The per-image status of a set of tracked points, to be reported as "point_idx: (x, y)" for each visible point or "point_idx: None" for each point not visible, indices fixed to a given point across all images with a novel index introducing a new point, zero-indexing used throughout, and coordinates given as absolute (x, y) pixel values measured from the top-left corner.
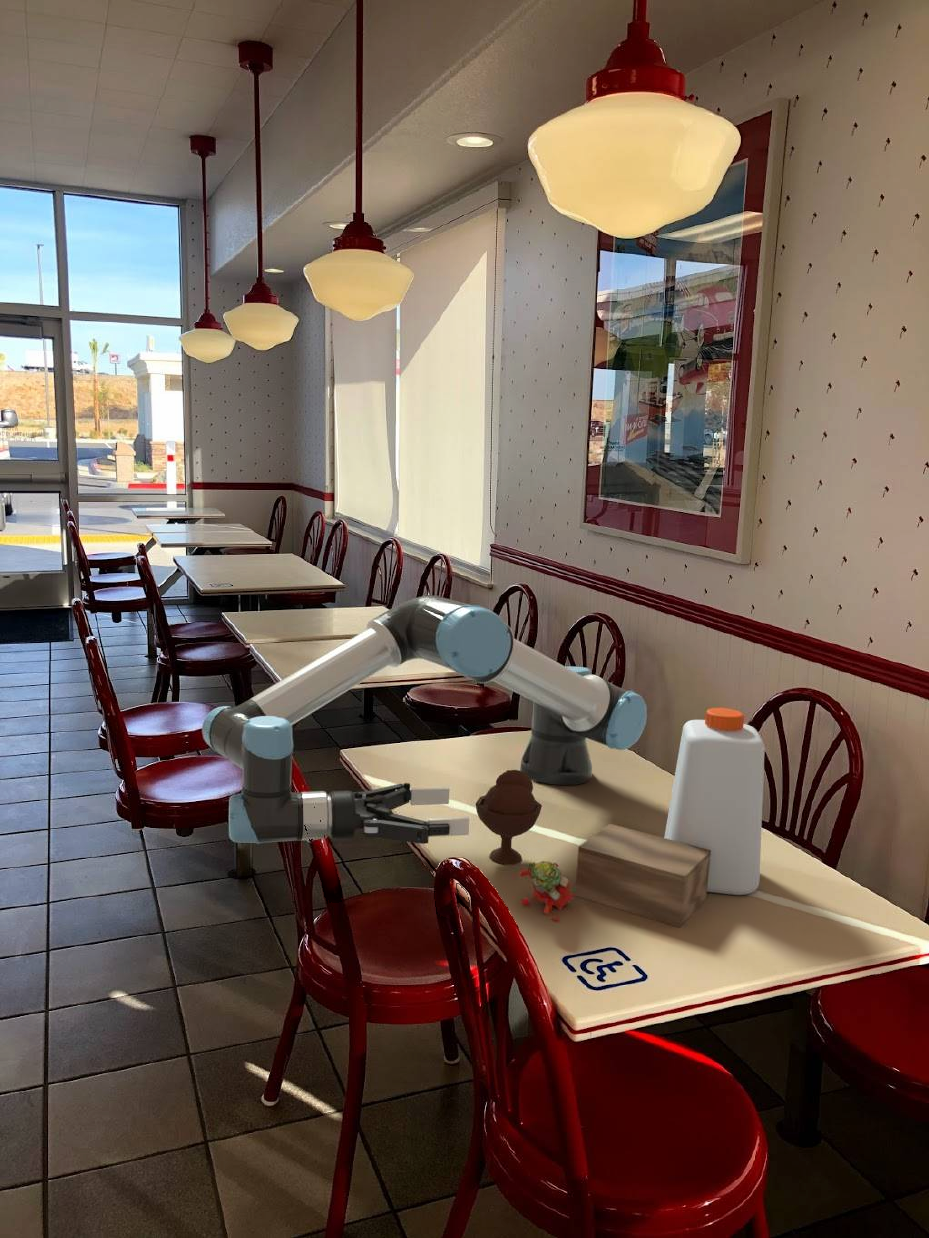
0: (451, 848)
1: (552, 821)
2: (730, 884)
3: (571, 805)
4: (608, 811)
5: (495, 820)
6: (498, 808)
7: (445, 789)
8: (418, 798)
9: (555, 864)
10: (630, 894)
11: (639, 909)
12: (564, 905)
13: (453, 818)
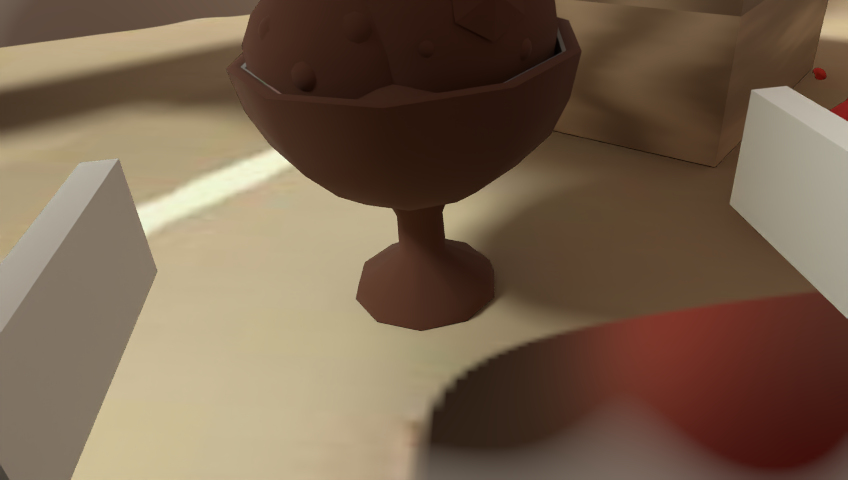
0: (286, 470)
1: (134, 175)
2: None
3: (40, 143)
4: (128, 103)
5: (551, 101)
6: (530, 34)
7: (111, 178)
8: (48, 413)
9: (823, 71)
10: (782, 59)
11: (784, 84)
12: None
13: (843, 135)
